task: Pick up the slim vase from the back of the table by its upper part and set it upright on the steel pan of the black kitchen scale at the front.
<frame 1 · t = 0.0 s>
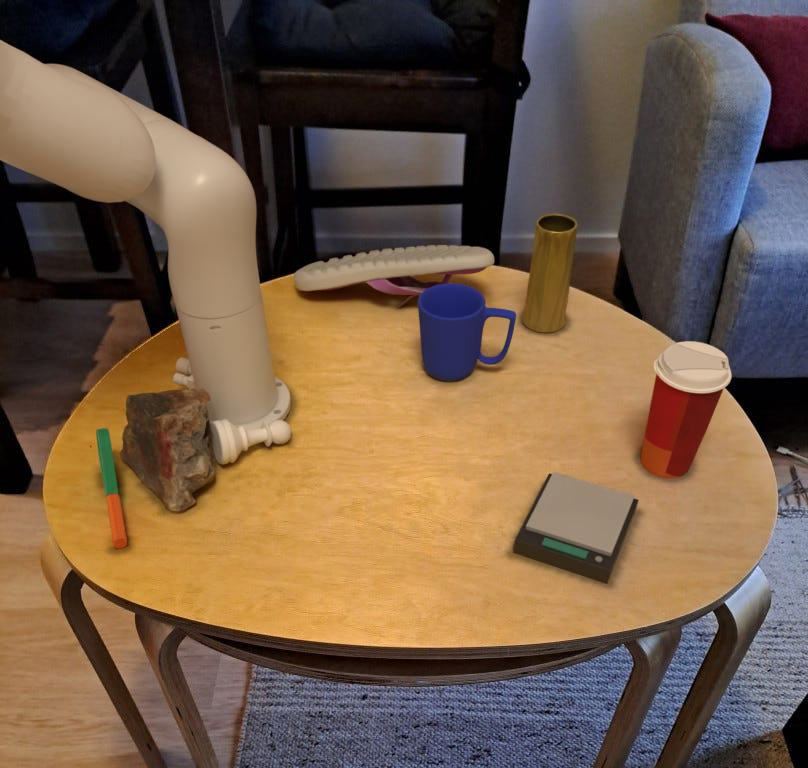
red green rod: (120, 485, 89), point 2 cm above the table
rock: (208, 468, 93), on the table, touching chess pawn
scale: (575, 532, 86), on the table
vase: (543, 322, 113), on the table
paper cup: (664, 462, 94), on the table
sandal: (390, 253, 113), point 7 cm above the table
chess pawn: (214, 443, 92), point 3 cm above the table, touching rock
mug: (463, 371, 106), on the table
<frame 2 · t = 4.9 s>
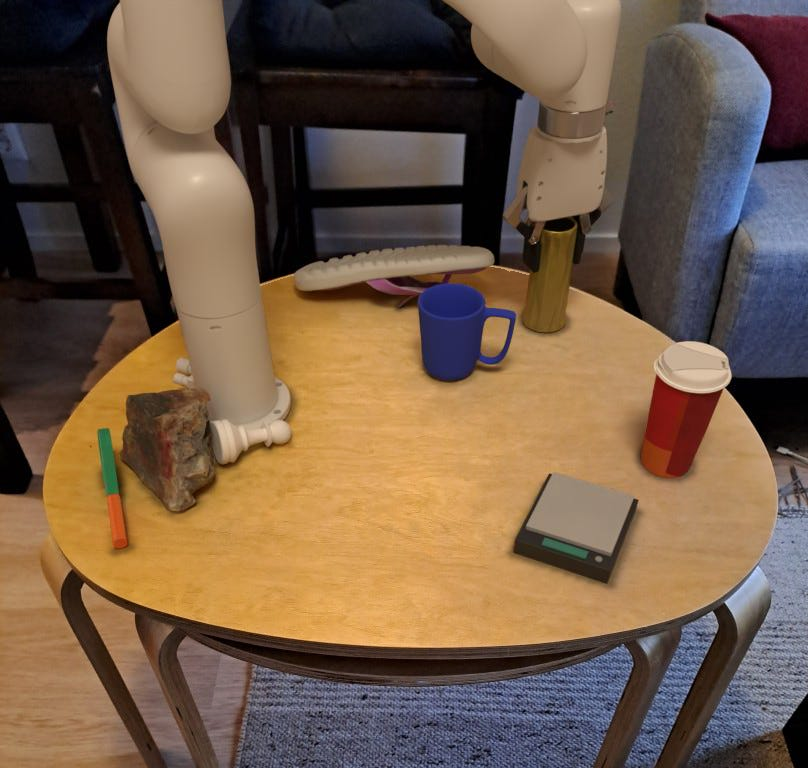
hand: (551, 262, 107), 9 cm above the table, tool pointing down, fingers closed on vase, 5 cm apart
vase: (543, 322, 113), on the table, touching gripper
everything else where it was.
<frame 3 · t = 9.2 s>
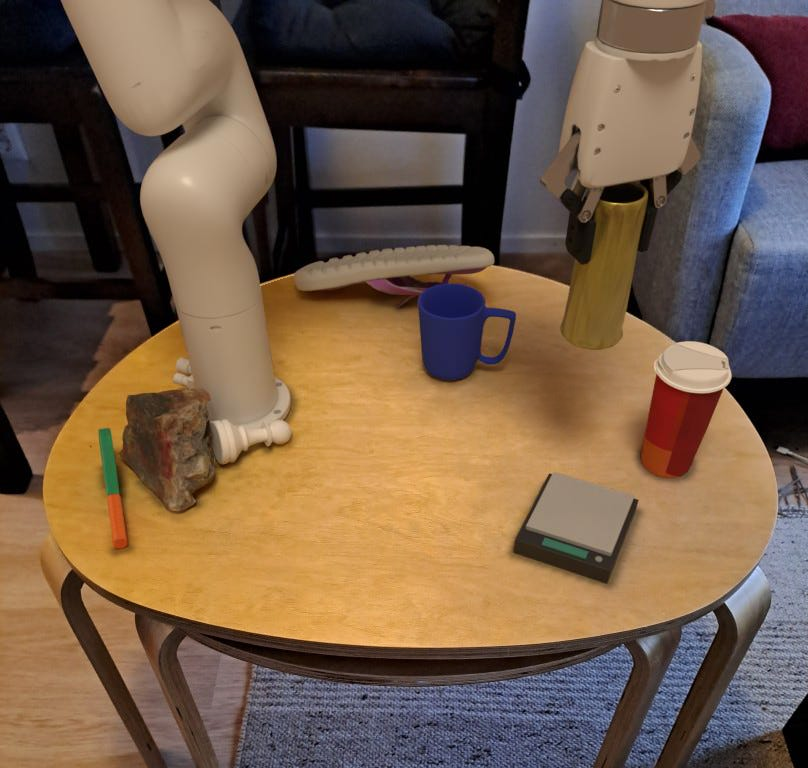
hand: (606, 249, 74), 26 cm above the table, tool pointing down, fingers closed on vase, 5 cm apart
vase: (590, 334, 81), point 17 cm above the table, touching gripper
everything else where it was.
when the fingers open (11 cm above the table, at t = 13.8 s): vase stays where it is, resting on scale.
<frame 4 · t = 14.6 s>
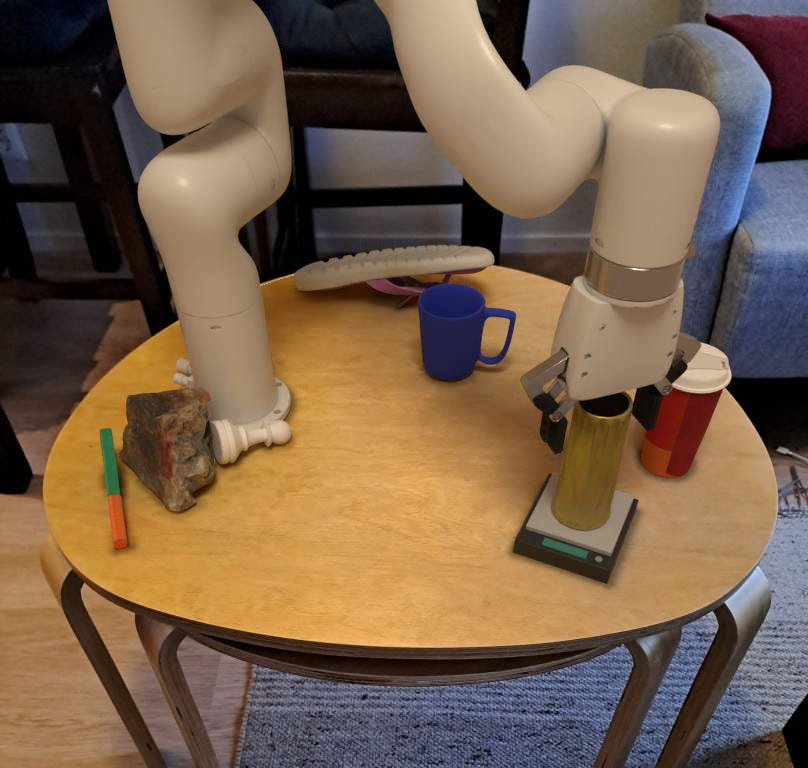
hand: (597, 433, 77), 13 cm above the table, tool pointing down, fingers open, 9 cm apart
vase: (580, 511, 85), point 2 cm above the table, touching scale
everything else where it was.
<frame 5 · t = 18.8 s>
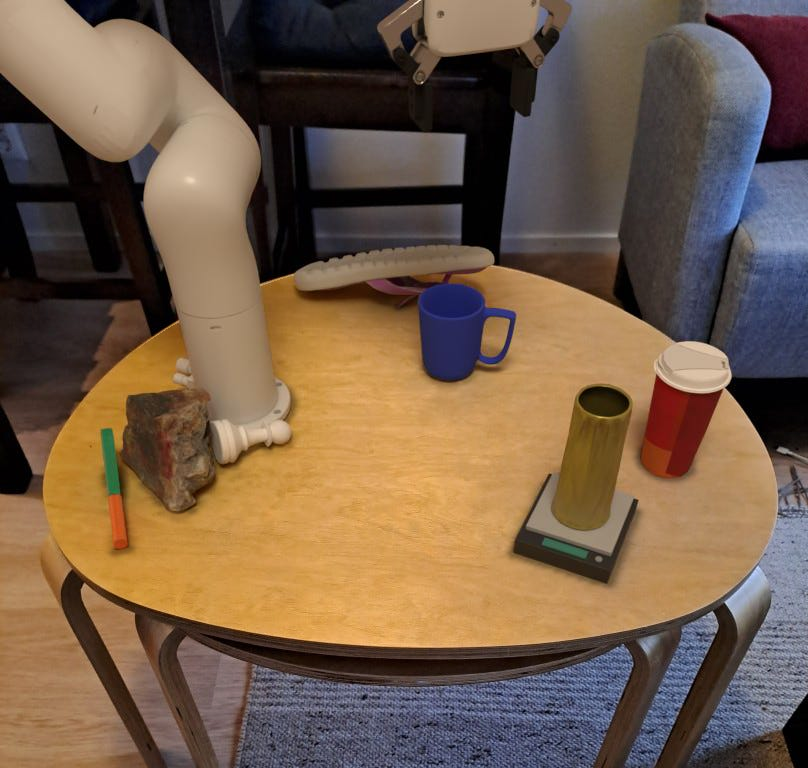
hand: (471, 119, 74), 34 cm above the table, tool pointing down, fingers open, 9 cm apart
nothing on the table moved.
at the end: vase inside the target area on the scale (0.1 cm from its centre), point 2.4 cm above the scale's base; vase tilted 0° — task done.
